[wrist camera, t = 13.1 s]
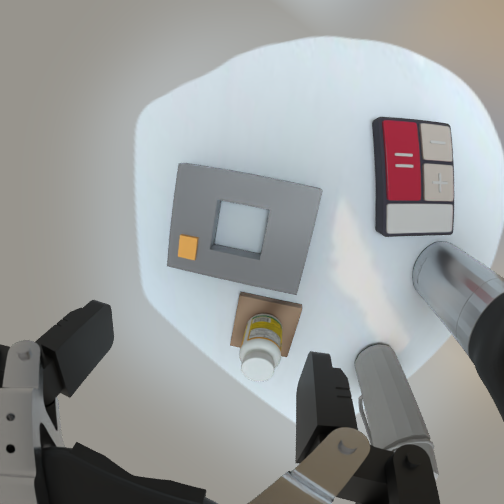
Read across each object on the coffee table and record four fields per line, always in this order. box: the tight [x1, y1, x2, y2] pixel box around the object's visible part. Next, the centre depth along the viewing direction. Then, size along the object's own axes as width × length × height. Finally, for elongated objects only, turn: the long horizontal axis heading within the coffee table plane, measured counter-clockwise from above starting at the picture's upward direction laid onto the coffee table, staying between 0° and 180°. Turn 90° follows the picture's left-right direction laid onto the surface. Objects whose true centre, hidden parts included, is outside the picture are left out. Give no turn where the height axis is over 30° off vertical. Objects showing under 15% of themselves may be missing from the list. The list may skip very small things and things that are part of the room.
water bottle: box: [355, 344, 438, 480], centre depth 31 cm, size 9×8×25 cm
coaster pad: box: [230, 292, 302, 357], centre depth 42 cm, size 9×9×1 cm
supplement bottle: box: [239, 314, 282, 382], centre depth 37 cm, size 5×5×10 cm
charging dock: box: [167, 163, 322, 295], centre depth 37 cm, size 18×14×3 cm
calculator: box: [372, 117, 454, 237], centre depth 32 cm, size 11×4×15 cm
